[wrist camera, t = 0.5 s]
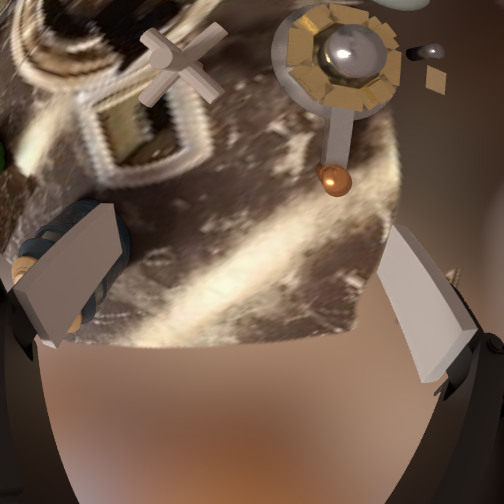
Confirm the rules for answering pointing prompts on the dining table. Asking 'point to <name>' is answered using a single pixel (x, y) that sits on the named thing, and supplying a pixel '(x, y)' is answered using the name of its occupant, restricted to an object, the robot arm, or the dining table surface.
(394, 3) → the air freshener
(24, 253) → the canister
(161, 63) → the pipe connector
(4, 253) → the dining table surface
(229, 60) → the dining table surface
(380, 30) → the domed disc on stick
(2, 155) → the bell pepper
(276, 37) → the gold and silver mechanism
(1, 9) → the coffee can
